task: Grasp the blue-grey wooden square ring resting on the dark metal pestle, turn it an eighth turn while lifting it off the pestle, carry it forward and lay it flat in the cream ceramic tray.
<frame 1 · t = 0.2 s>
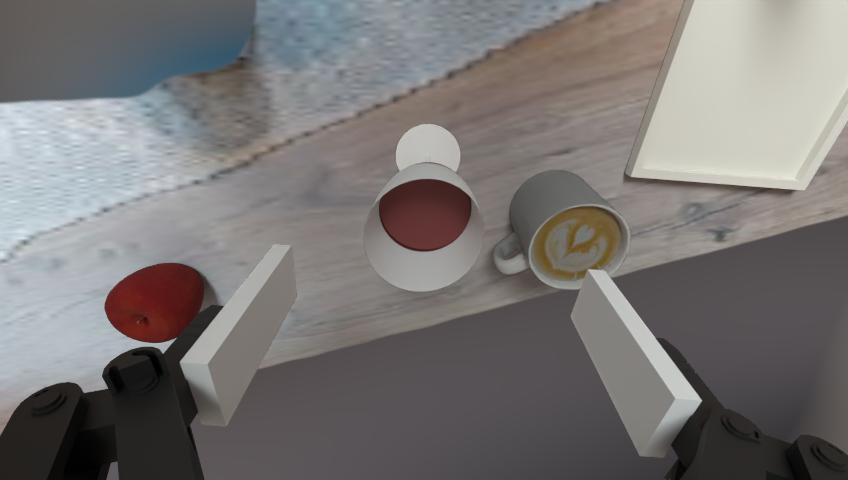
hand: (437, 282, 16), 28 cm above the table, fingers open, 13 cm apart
wineglass: (427, 156, 42), on the table
tray: (752, 87, 37), on the table
coffee mug: (535, 212, 45), on the table
apple: (185, 277, 51), on the table
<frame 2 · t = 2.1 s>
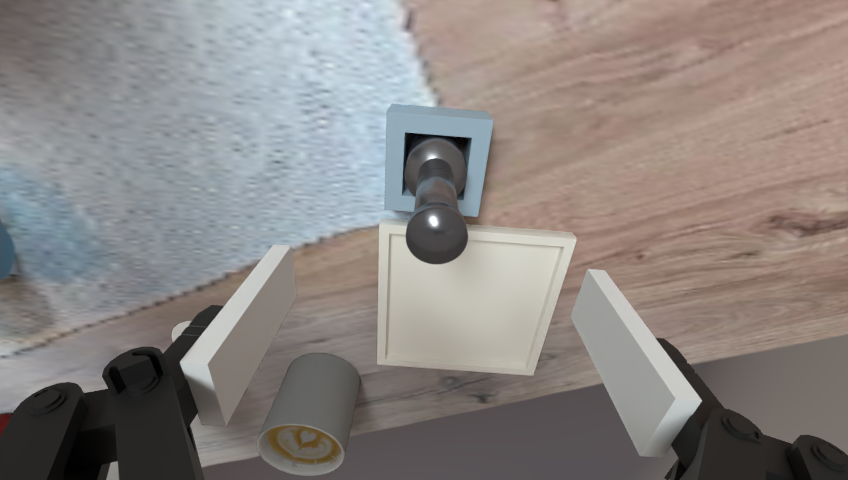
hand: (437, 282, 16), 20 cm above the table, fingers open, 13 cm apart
wineglass: (202, 341, 47), on the table
pestle: (435, 154, 34), on the table
tray: (464, 300, 42), on the table
ring: (435, 154, 34), on the table
coffee mug: (313, 380, 50), on the table
apple: (18, 420, 56), on the table
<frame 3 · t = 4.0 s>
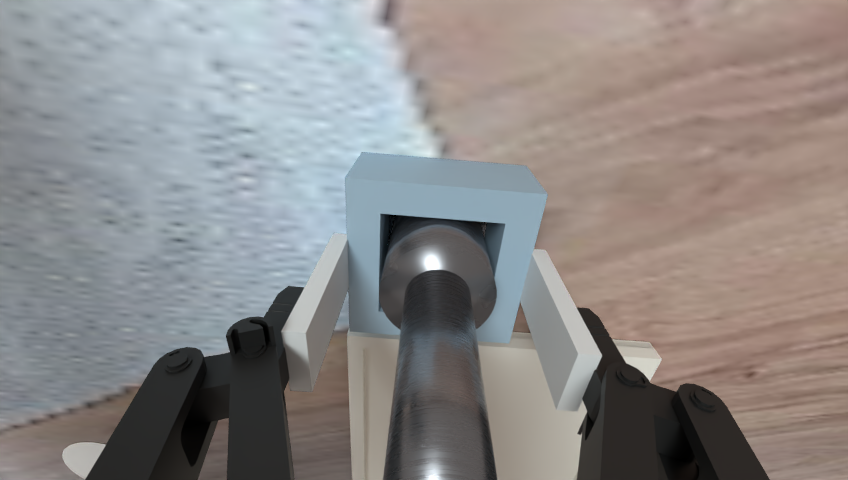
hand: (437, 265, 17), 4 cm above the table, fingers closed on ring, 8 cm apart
wineglass: (108, 464, 33), on the table
pestle: (436, 232, 21), on the table
tray: (479, 424, 29), on the table
ring: (436, 232, 21), on the table, touching gripper
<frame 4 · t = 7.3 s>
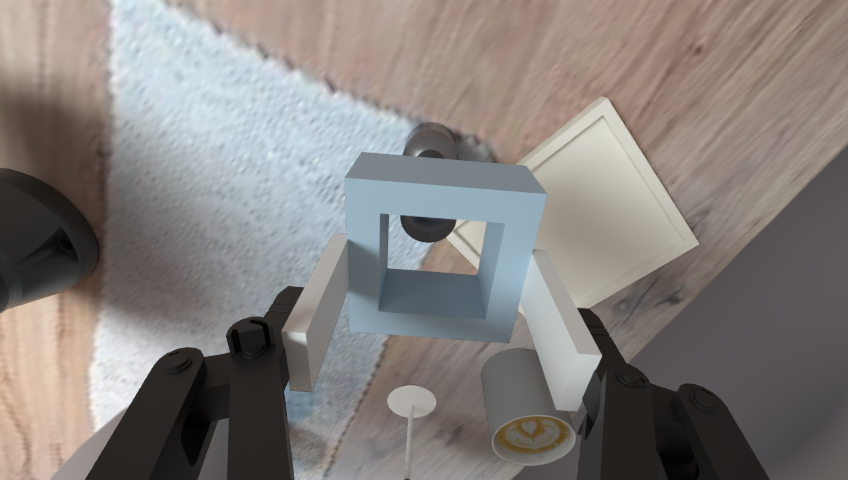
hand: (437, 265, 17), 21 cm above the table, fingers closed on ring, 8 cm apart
wineglass: (411, 401, 55), on the table
pestle: (430, 148, 36), on the table
tray: (565, 231, 40), on the table
ring: (436, 231, 21), point 18 cm above the table, touching gripper
coffee mug: (509, 380, 52), on the table
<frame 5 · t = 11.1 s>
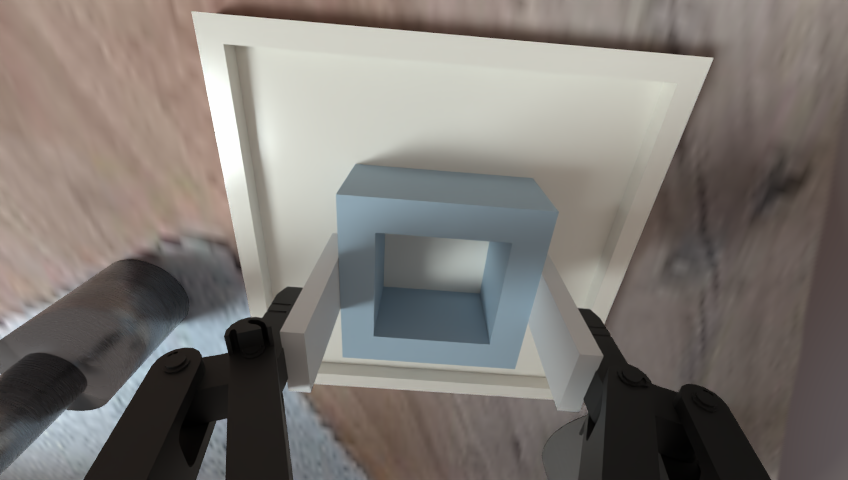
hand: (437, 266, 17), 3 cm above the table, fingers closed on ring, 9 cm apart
pestle: (145, 295, 22), on the table
tray: (433, 244, 20), on the table
ring: (436, 248, 19), point 1 cm above the table, touching gripper, tray
coffee mug: (607, 460, 29), on the table
when the fingers open (1 cm above the table, at t = 11.9 s): ring stays where it is, resting on tray.
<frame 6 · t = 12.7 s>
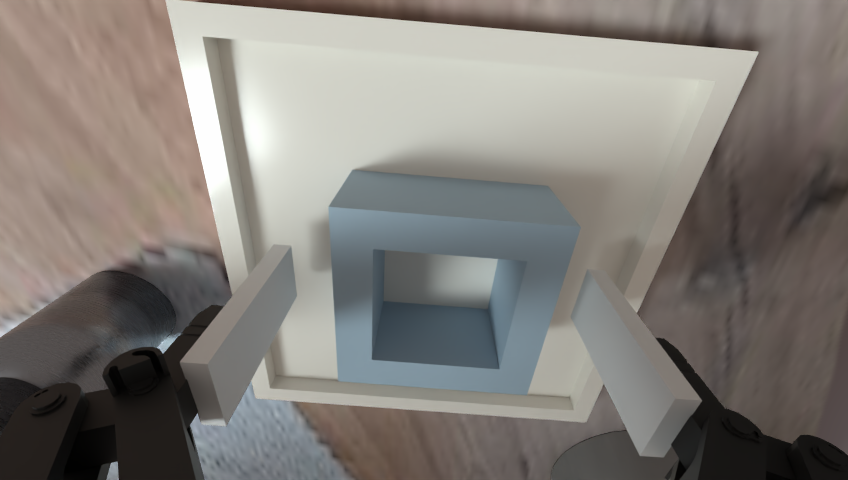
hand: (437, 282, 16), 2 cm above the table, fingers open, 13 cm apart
pestle: (129, 308, 20), on the table
tray: (437, 256, 18), on the table
ring: (440, 260, 18), point 1 cm above the table, touching tray
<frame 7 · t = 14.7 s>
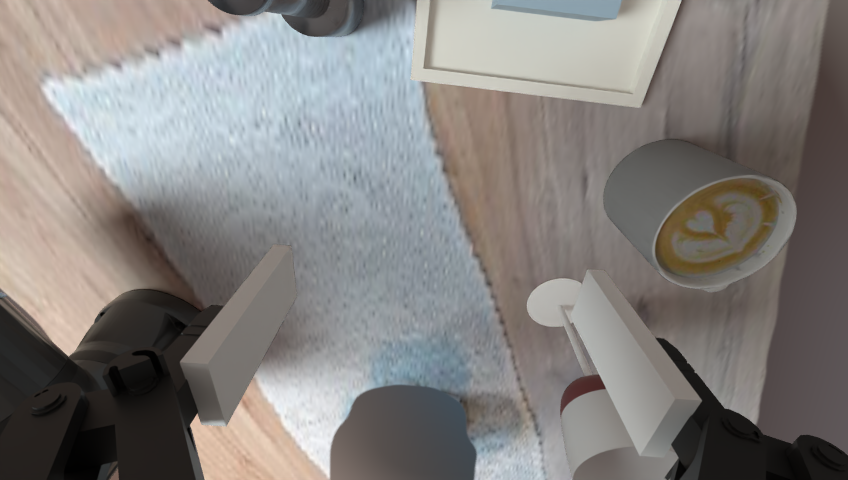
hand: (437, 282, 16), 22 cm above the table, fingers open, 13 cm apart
wineglass: (557, 302, 44), on the table
pestle: (333, 2, 30), on the table
coffee mug: (654, 203, 37), on the table
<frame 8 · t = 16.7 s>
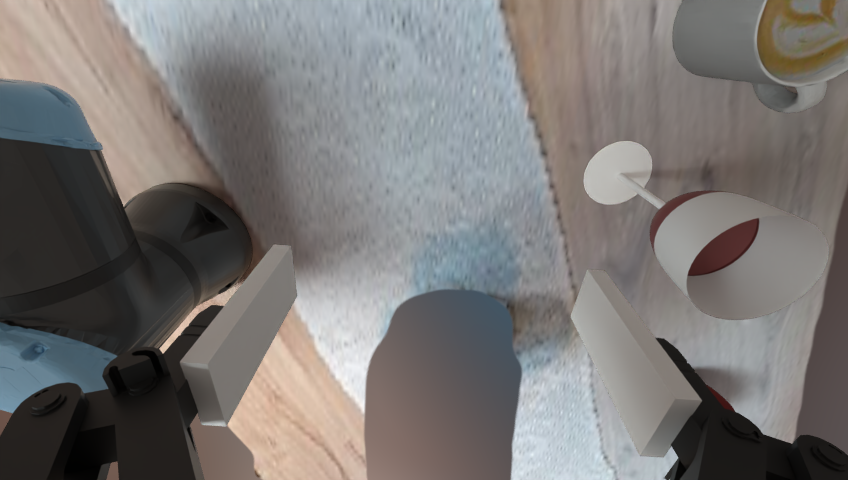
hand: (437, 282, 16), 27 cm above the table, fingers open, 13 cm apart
wineglass: (616, 173, 41), on the table
coffee mug: (727, 38, 34), on the table
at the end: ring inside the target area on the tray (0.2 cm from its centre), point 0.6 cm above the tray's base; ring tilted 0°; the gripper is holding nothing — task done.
